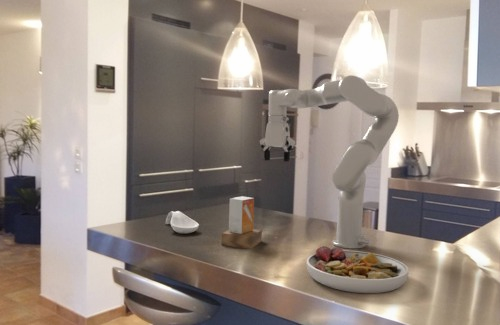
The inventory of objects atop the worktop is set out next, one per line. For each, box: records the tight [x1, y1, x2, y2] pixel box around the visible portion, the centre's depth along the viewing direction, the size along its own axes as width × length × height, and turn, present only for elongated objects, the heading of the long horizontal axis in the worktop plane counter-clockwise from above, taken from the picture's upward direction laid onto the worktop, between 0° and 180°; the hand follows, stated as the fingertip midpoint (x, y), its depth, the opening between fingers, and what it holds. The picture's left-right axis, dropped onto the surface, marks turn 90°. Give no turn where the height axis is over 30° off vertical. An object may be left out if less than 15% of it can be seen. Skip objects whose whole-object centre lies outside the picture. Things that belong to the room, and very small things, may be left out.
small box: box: [228, 195, 255, 234], centre depth 180 cm, size 8×6×13 cm
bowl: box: [306, 245, 410, 294], centre depth 142 cm, size 30×30×8 cm
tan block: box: [221, 228, 263, 250], centre depth 181 cm, size 12×12×5 cm
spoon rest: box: [165, 210, 200, 235], centre depth 202 cm, size 24×12×7 cm, turn 30°
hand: (276, 160), depth 197 cm, fingers open, 9 cm apart
